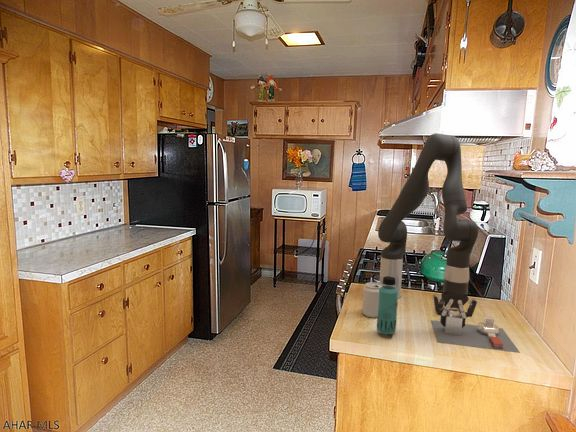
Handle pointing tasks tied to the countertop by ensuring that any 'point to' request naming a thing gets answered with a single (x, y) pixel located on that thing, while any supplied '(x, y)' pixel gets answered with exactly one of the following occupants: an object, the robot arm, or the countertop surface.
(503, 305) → the countertop surface
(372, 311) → the can
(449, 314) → the metal block with knob
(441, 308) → the bolt
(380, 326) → the beverage bottle
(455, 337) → the tool mat
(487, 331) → the ratchet
